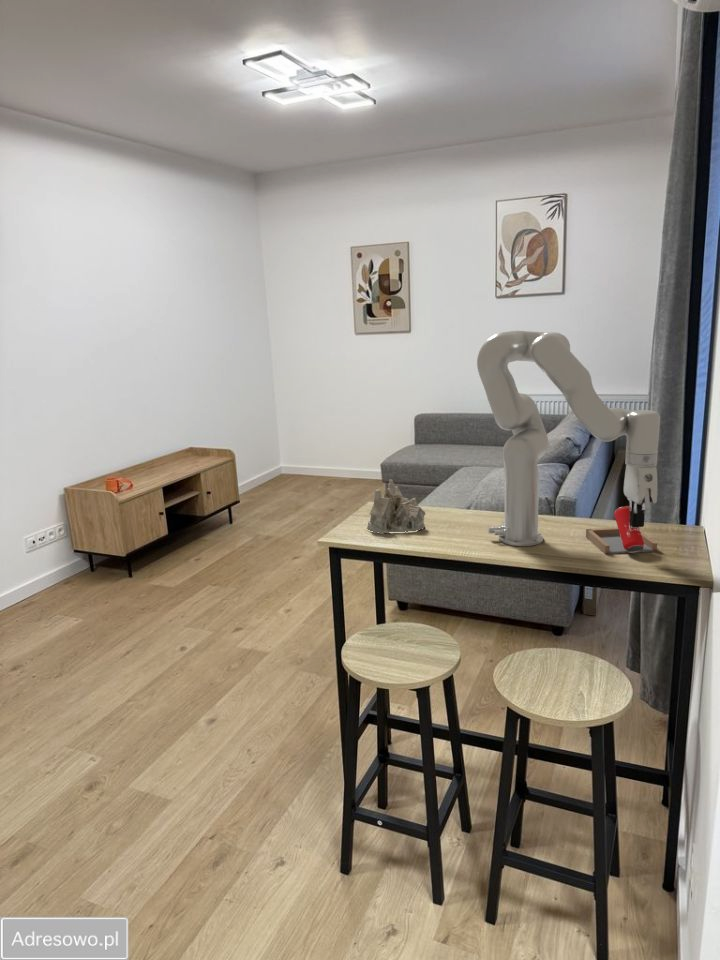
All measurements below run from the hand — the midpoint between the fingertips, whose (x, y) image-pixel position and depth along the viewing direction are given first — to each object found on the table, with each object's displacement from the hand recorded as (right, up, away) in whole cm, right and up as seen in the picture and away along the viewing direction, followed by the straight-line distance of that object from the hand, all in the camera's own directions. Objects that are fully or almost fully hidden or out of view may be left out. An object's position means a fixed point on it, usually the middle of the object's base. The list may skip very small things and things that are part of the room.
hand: (636, 526), depth 171 cm
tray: (0, -6, +11) cm, 13 cm away
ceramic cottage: (-62, -3, +34) cm, 71 cm away
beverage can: (0, -6, +2) cm, 7 cm away
